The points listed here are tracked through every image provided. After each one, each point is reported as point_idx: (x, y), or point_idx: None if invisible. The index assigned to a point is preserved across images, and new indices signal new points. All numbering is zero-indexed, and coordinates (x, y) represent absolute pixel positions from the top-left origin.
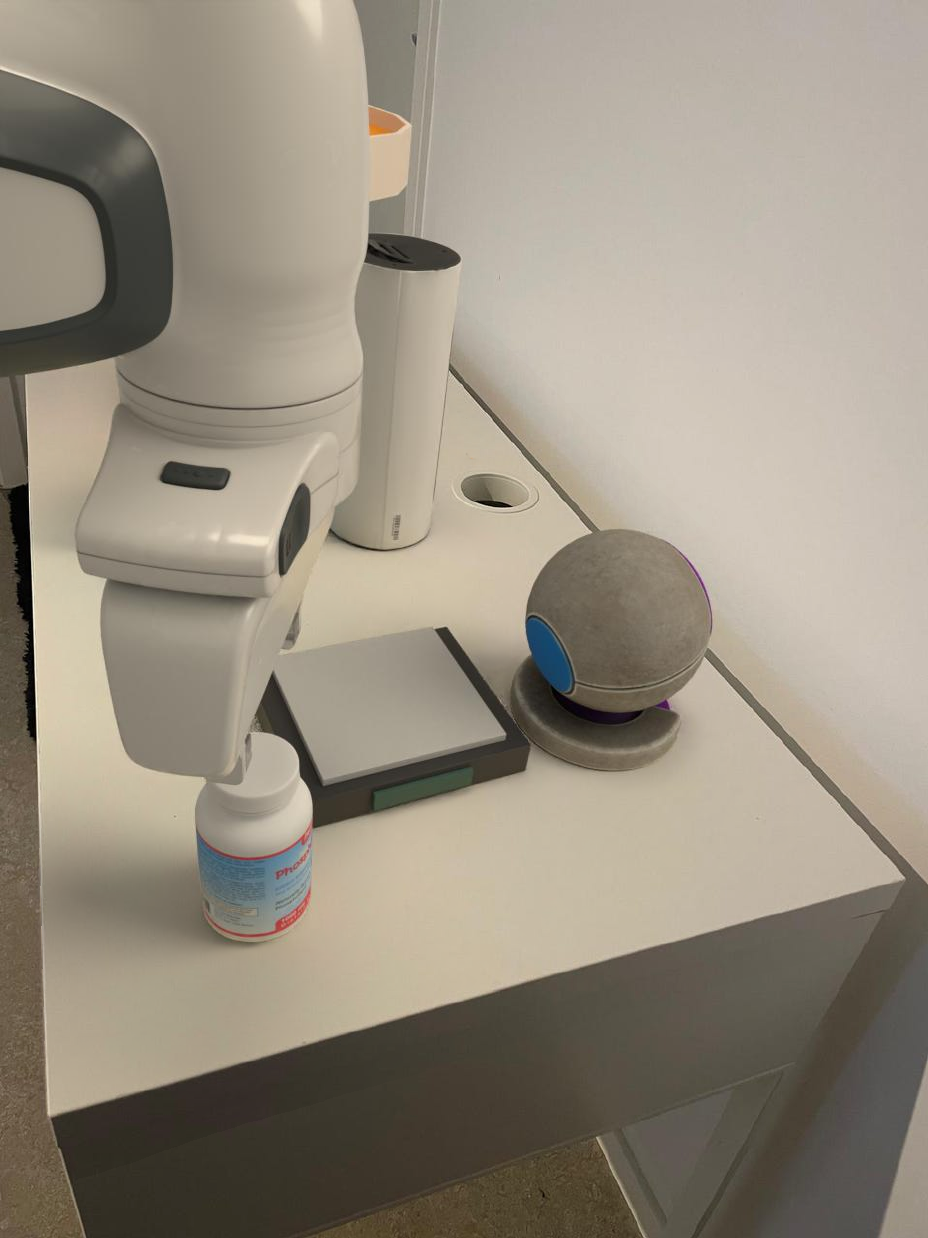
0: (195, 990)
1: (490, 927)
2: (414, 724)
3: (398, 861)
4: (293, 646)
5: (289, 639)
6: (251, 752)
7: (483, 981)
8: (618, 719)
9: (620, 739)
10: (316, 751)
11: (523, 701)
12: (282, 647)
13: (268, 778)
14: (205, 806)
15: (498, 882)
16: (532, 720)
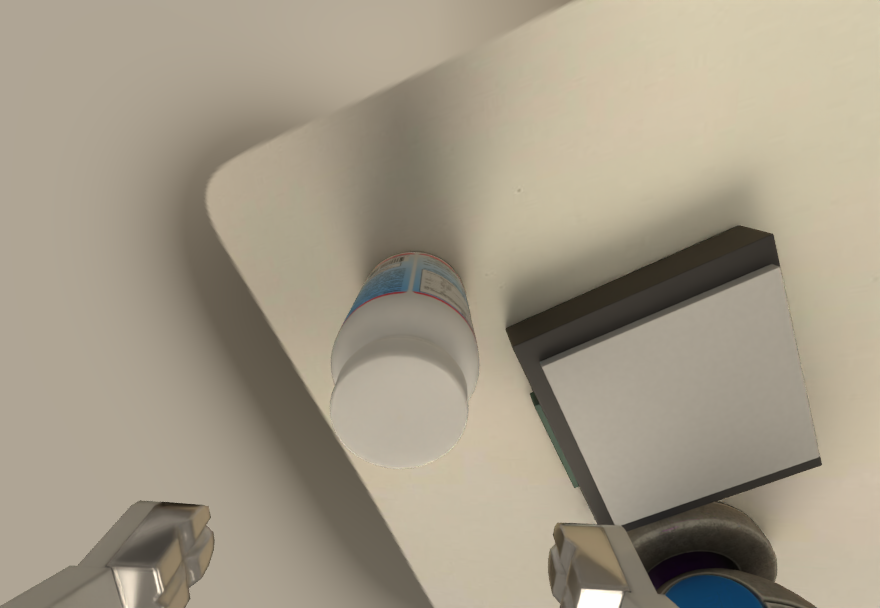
0: (314, 265)
1: (414, 481)
2: (633, 447)
3: (475, 412)
4: (549, 578)
5: (556, 588)
6: (199, 578)
7: (364, 476)
8: None
9: None
10: (588, 354)
11: (678, 527)
12: (551, 554)
13: (371, 438)
14: (373, 324)
15: (460, 486)
16: (650, 531)
